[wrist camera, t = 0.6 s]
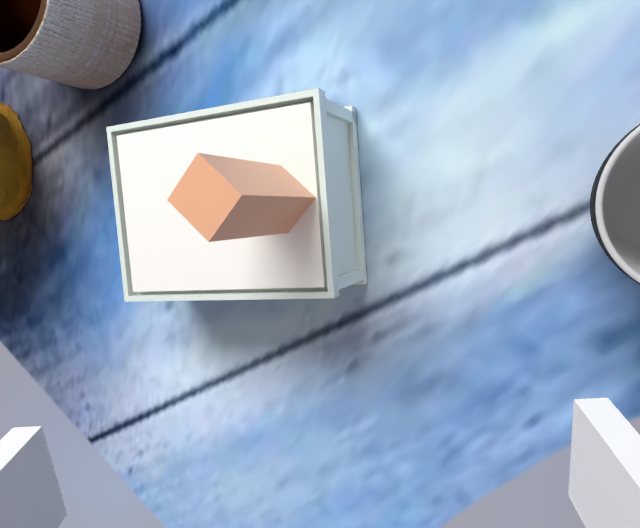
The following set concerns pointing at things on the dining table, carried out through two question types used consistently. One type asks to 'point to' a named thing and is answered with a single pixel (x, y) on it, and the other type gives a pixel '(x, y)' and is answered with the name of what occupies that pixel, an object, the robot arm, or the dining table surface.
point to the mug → (619, 205)
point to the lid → (225, 203)
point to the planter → (70, 39)
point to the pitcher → (13, 164)
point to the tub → (335, 190)
